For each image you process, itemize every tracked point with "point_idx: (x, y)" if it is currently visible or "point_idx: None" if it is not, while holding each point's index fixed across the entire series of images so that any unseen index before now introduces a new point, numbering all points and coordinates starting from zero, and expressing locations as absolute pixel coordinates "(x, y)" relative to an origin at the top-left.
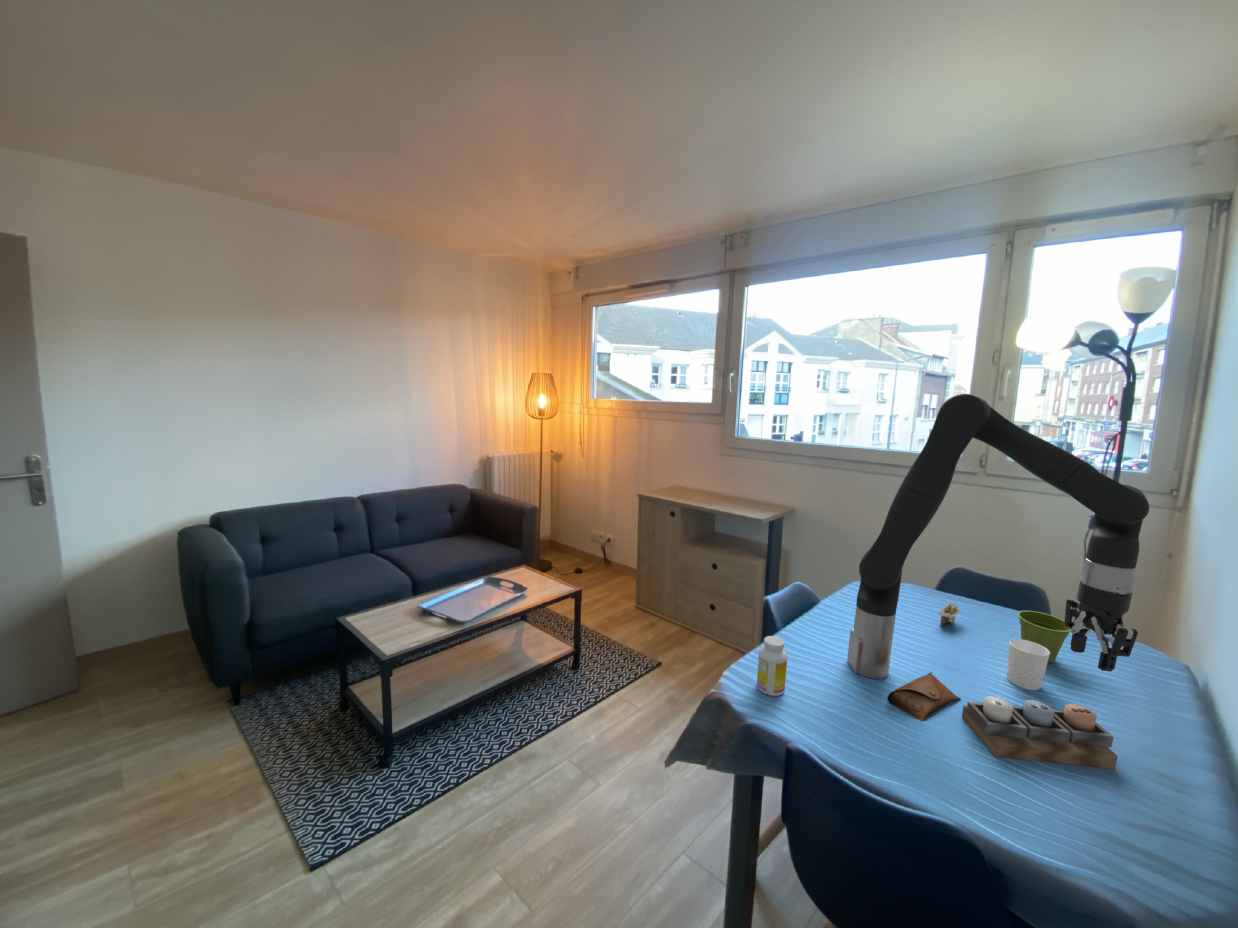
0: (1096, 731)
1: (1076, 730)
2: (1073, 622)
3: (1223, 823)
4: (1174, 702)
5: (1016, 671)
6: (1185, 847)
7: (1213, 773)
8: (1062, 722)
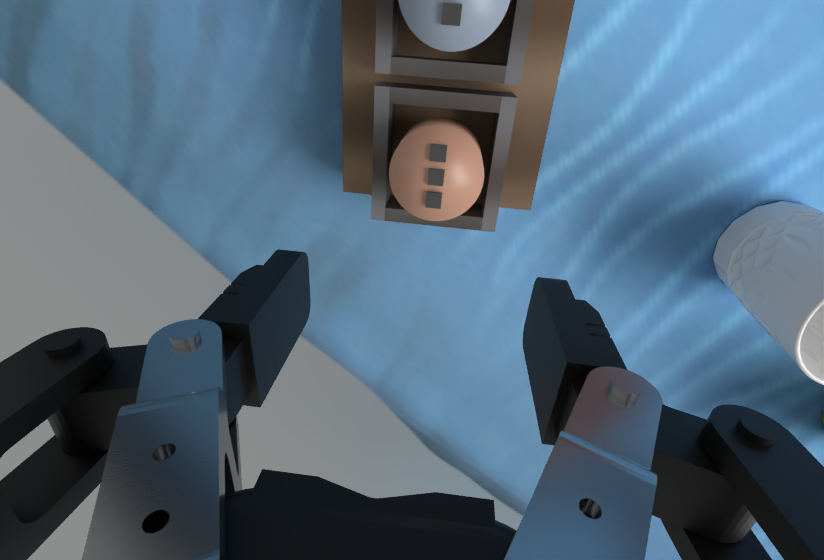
0: None
1: None
2: (731, 507)
3: (220, 265)
4: None
5: (800, 221)
6: (110, 108)
7: (371, 384)
8: (432, 93)
